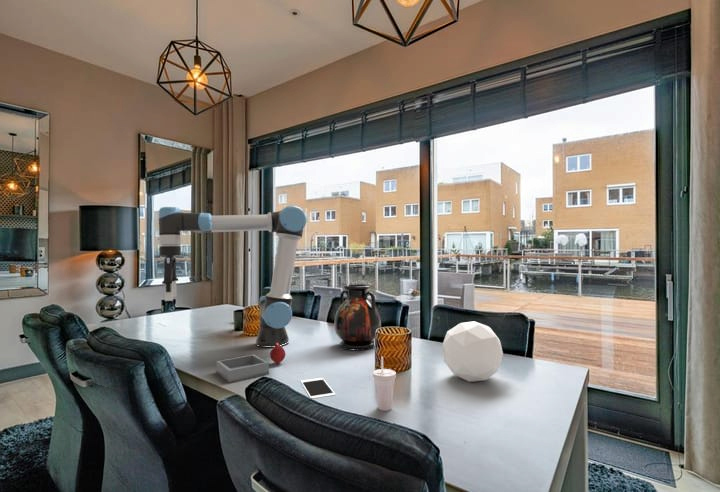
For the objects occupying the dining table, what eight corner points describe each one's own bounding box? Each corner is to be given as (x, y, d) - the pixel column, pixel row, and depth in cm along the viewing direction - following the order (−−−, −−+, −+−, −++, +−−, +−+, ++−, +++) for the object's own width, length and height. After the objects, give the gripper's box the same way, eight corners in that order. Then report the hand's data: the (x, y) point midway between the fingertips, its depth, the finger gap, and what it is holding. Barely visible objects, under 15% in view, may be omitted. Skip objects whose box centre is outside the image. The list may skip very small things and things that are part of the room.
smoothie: (372, 403, 103) (371, 353, 103) (394, 402, 103) (393, 353, 104) (374, 413, 96) (374, 360, 97) (398, 412, 97) (397, 359, 97)
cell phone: (322, 379, 124) (322, 377, 124) (336, 396, 109) (336, 394, 109) (300, 382, 122) (300, 380, 122) (310, 400, 107) (310, 398, 107)
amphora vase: (324, 348, 164) (323, 286, 164) (352, 338, 181) (351, 282, 182) (363, 355, 151) (363, 288, 152) (389, 344, 169) (389, 284, 170)
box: (253, 364, 141) (253, 354, 141) (268, 373, 130) (268, 362, 130) (216, 372, 132) (216, 361, 132) (229, 382, 121) (229, 370, 121)
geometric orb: (476, 405, 116) (464, 366, 106) (438, 367, 133) (424, 330, 123) (519, 371, 121) (512, 330, 111) (477, 338, 138) (467, 300, 128)
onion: (288, 362, 143) (288, 342, 143) (279, 366, 137) (279, 345, 138) (276, 361, 145) (276, 340, 145) (267, 365, 140) (266, 344, 140)
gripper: (163, 246, 156) (164, 296, 156) (154, 245, 133) (155, 303, 133) (183, 246, 159) (183, 294, 159) (177, 244, 136) (178, 301, 135)
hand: (170, 298), depth 146 cm, fingers open, 13 cm apart
